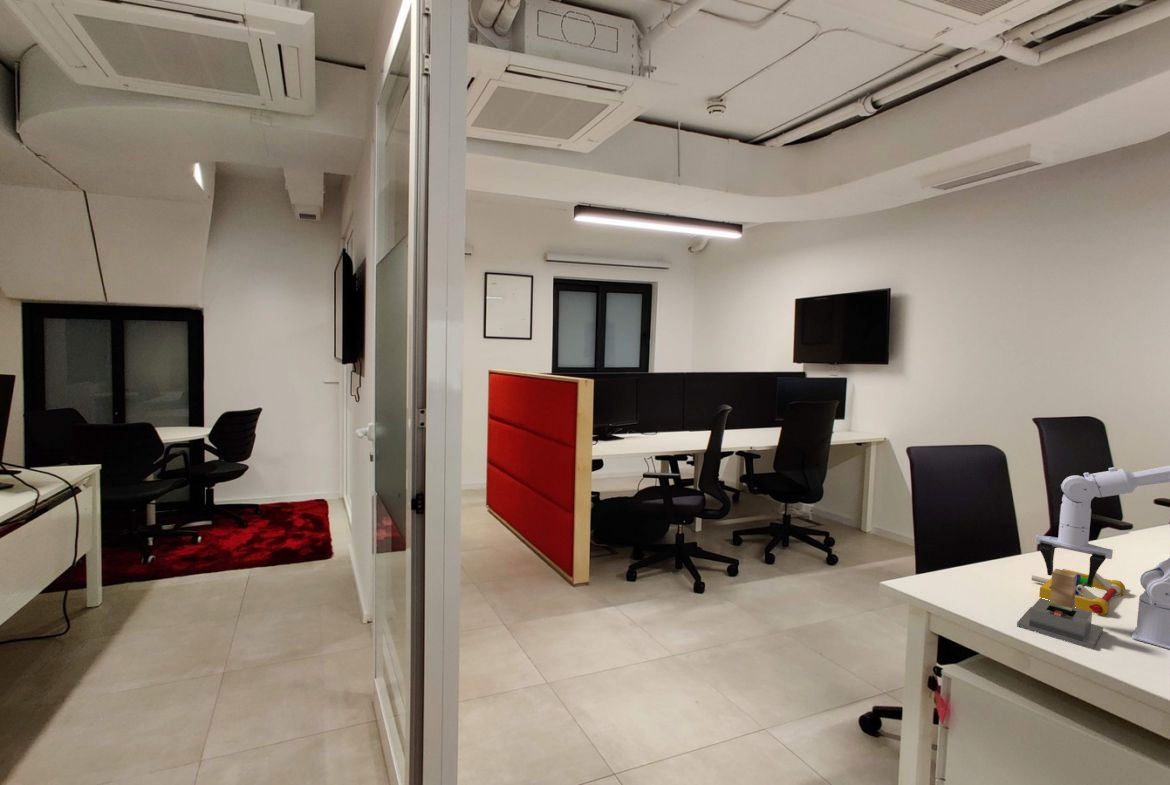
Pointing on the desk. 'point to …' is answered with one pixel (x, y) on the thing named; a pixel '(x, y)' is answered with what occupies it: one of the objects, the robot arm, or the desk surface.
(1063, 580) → the oak post
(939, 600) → the desk surface
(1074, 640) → the metal sleeve
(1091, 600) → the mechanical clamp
